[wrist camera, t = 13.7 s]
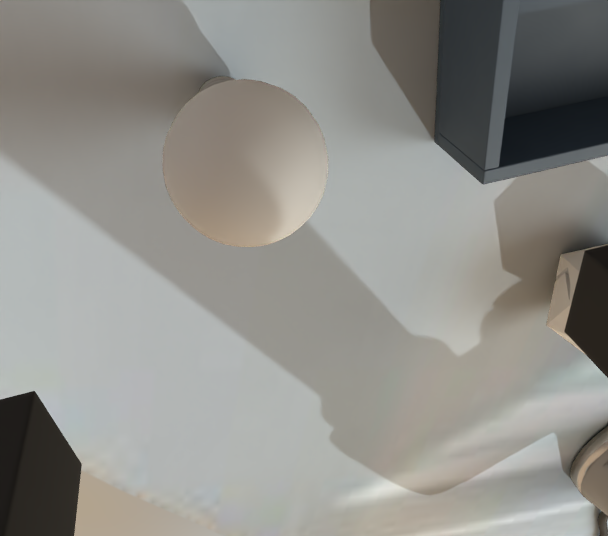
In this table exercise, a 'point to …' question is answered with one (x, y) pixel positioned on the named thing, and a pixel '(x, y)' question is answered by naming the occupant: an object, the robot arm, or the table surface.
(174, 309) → the table surface
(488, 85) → the tote
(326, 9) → the table surface
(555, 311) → the die
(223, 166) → the lightbulb
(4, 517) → the robot arm
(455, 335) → the table surface
